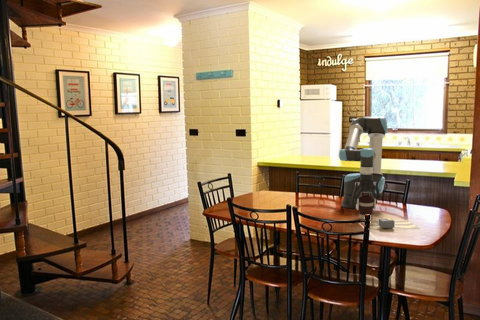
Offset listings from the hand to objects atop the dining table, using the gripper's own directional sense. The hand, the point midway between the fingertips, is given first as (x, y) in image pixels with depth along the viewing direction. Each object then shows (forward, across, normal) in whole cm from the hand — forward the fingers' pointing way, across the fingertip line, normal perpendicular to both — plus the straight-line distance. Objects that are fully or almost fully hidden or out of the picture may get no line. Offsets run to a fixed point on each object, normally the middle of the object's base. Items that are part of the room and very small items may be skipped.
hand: (365, 208), depth 247 cm
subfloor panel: (+7, +9, -15) cm, 19 cm away
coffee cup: (+7, 0, 0) cm, 7 cm away
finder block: (+6, +5, -21) cm, 22 cm away
